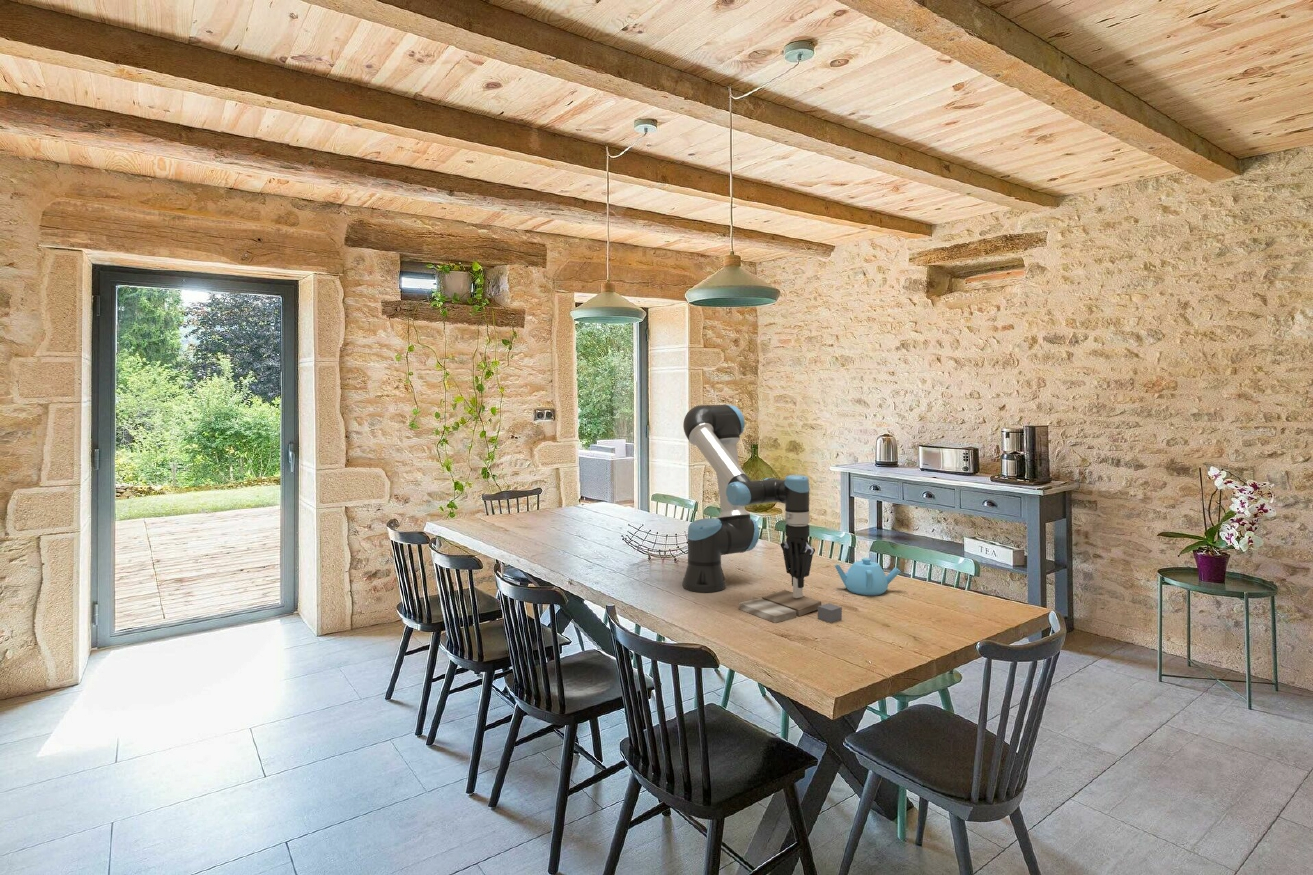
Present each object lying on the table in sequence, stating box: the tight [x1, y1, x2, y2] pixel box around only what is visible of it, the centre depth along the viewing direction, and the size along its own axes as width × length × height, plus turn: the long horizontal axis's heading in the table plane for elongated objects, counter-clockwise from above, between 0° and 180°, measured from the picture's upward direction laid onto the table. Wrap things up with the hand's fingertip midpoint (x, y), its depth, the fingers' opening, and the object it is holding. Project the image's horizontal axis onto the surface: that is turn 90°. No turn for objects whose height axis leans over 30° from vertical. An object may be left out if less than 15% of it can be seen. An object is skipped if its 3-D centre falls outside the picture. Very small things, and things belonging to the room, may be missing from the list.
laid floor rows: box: [738, 597, 797, 624], centre depth 217 cm, size 16×9×2 cm, turn 35°
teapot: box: [834, 557, 902, 596], centre depth 241 cm, size 15×17×11 cm
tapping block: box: [817, 602, 843, 624], centre depth 211 cm, size 5×5×4 cm
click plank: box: [761, 589, 822, 617], centre depth 223 cm, size 16×10×2 cm, turn 35°
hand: (797, 596), depth 224 cm, fingers closed
